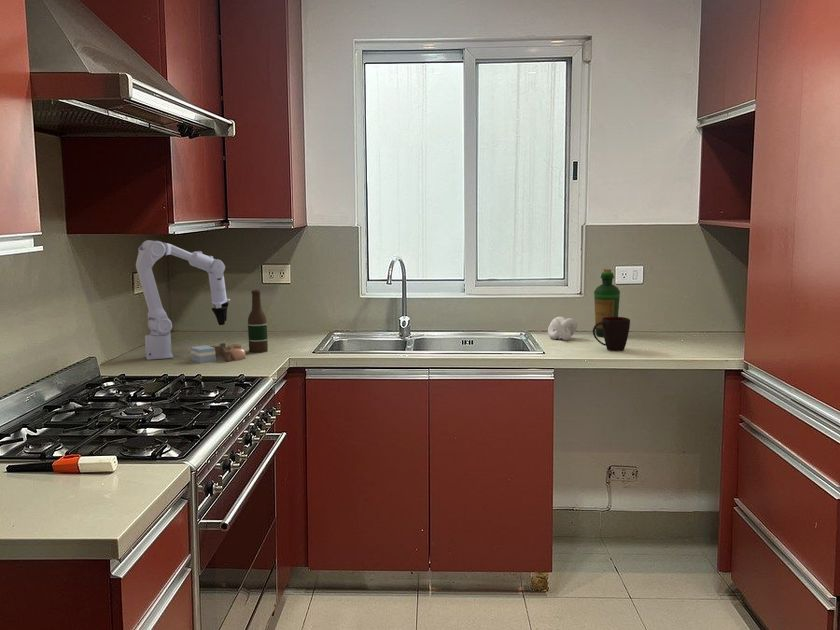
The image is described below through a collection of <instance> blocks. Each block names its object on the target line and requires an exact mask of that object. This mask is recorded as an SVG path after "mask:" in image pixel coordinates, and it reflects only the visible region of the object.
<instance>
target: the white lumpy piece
mask: <svg viewBox="0 0 840 630" xmlns="http://www.w3.org/2000/svg"><path fill="white" fill-rule="evenodd" d="M577 329H578V322H577V321H576V319H574V318H571V317H569V318H565V317H564V316H557V317H554V318H553V319H552V320H551V322H550V324H549V325H548V328H547V335H548V337H549V338H550V339H551V340H558V339H559V338H561V339H562V341H563V340H564V341H565V342H566V341H567V342H568V341H569V340H570V339H571V337H572V336H573V335H574V334H575V333H576V332H577Z"/></svg>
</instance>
